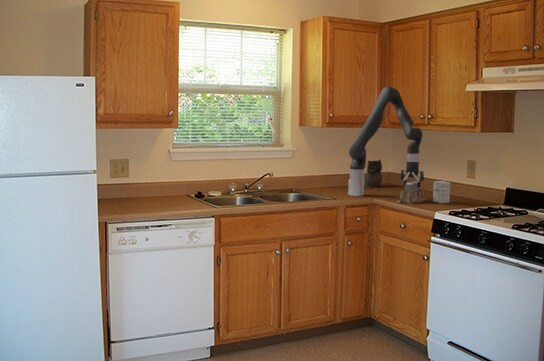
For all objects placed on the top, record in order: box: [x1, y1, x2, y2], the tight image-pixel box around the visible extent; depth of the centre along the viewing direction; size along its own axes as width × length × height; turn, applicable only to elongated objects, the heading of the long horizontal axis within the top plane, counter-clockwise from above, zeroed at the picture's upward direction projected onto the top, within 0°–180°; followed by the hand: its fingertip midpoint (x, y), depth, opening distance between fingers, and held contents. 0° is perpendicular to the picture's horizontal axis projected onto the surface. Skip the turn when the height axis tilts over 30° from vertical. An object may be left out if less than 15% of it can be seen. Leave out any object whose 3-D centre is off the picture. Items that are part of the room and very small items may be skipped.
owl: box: [364, 159, 383, 189], centre depth 465 cm, size 13×13×20 cm
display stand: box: [396, 188, 427, 205], centre depth 393 cm, size 10×20×7 cm, turn 143°
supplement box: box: [432, 180, 451, 204], centre depth 391 cm, size 7×7×13 cm
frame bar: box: [404, 181, 421, 193], centre depth 392 cm, size 4×14×6 cm, turn 144°
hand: (411, 187), depth 392 cm, fingers open, 8 cm apart
